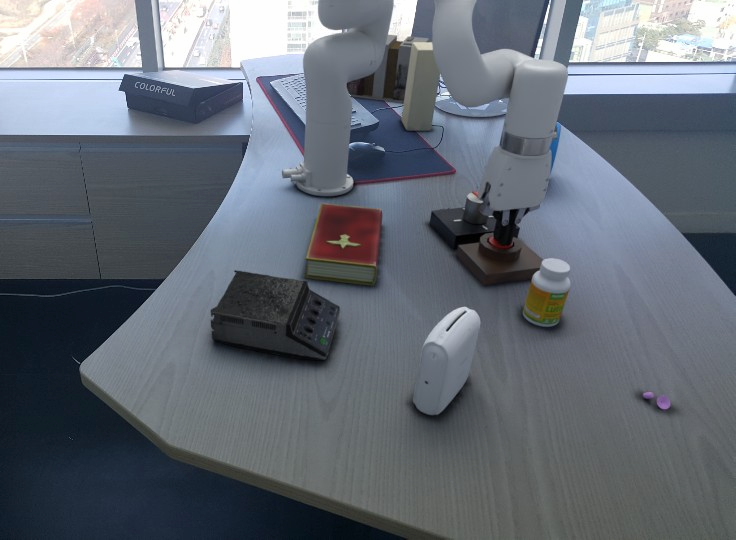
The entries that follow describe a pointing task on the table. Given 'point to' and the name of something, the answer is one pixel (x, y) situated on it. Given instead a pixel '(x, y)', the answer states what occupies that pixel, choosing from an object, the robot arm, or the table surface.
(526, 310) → the supplement bottle
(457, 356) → the photo printer
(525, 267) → the button block
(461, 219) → the control panel
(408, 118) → the toy refrigerator
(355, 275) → the hardcover book
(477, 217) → the timer knob
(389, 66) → the bookend
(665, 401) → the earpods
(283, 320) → the electronic device
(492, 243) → the button
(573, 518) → the table surface
